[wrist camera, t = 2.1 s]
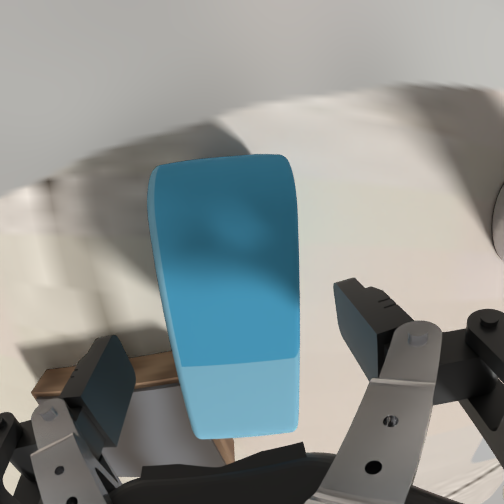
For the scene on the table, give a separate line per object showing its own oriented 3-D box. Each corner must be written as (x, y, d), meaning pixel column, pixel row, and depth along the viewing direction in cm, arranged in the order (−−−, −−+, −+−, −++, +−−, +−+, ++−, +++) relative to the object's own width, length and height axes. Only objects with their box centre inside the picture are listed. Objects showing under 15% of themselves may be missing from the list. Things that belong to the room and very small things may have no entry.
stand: (192, 346, 24) (187, 378, 20) (233, 441, 28) (235, 472, 24) (46, 369, 24) (29, 395, 21) (104, 451, 28) (95, 478, 24)
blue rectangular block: (269, 320, 24) (298, 445, 13) (208, 325, 24) (197, 453, 12) (259, 153, 20) (296, 154, 9) (189, 159, 20) (140, 168, 9)
